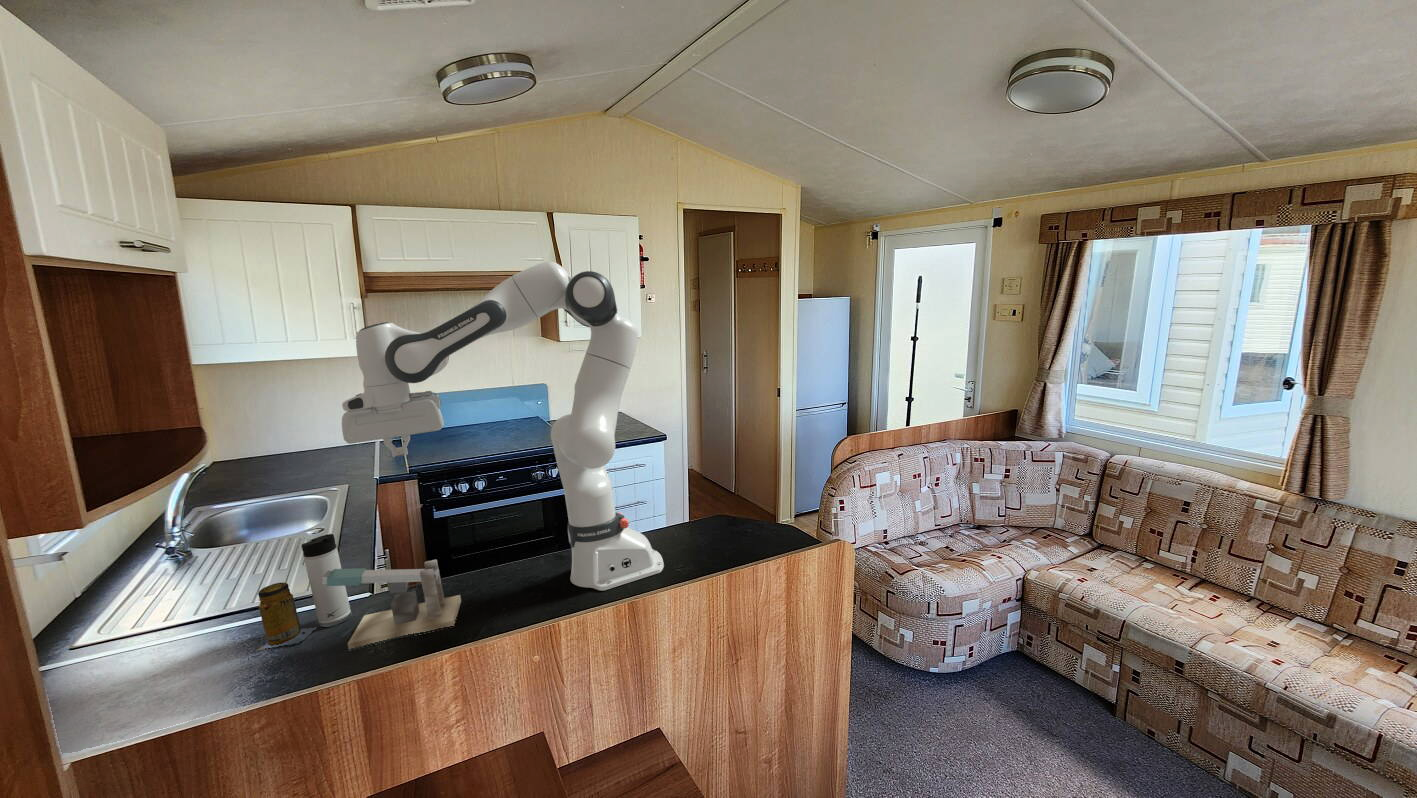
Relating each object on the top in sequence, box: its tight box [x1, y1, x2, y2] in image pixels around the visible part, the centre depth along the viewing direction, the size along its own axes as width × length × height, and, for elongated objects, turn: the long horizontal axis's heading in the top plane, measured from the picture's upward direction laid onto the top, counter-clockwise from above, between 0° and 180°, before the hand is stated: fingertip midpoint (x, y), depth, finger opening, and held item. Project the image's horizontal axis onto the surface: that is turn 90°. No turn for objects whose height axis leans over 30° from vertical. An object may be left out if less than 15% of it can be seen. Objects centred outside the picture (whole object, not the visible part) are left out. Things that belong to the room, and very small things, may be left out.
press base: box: [347, 559, 462, 650], centre depth 126 cm, size 20×12×12 cm, turn 106°
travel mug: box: [301, 533, 352, 625], centre depth 131 cm, size 6×7×20 cm
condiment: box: [257, 581, 302, 651], centre depth 126 cm, size 7×8×12 cm
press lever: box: [322, 567, 440, 594], centre depth 125 cm, size 22×4×4 cm, turn 106°
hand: (400, 455), depth 134 cm, fingers closed
